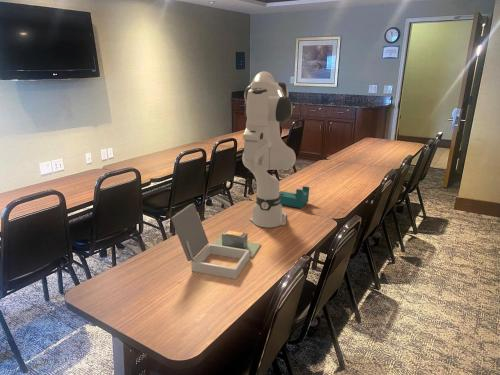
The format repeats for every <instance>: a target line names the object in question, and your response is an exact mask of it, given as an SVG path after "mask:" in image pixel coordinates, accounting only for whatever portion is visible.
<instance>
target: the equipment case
mask: <svg viewBox="0 0 500 375" xmlns="http://www.w3.org/2000/svg"><path fill="white" fill-rule="evenodd" d="M186 244H187V247H188V250H189V253H190V257H191V262H190V263H191V265H190V266H191V272H195V273H200V274H206V275H211V276H217V277H221V278H226V279H233V280H237V278H238V277H239V275H240V273H241V272H242V271H243V269H244V268H245V266H246V265H247V263H248V262H249V260H250V258H249V250H245V249H239V248H233V247H226V246H220V245H214V244H213V243H208V244H207V245H206V246H205V247H204V248H203V249H202V250H201V251H200V252H199V253H198V254H197V255H196V256H195V257H194V258H193V256H192V253H191V249H190V246H189V243H188V241H186ZM209 255H217V256H222V257H226V258H227V257H229V258H233V259H234V258H235V259H239V260H238V262H237V263H236V265H235V266H234V267H231V266H226V265H220V264H215V263H209V262H204V261H205V260H206V259H207V258H208V256H209Z"/></svg>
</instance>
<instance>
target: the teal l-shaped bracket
mask: <svg viewBox="0 0 500 375" xmlns="http://www.w3.org/2000/svg"><path fill="white" fill-rule="evenodd" d="M295 190H296V192H295V193H294V192H288V191H284V190H283V191H282V190H279V194H280V203H281V205H282V206H288V207H293V208H297V209H302V208H304V207H305V204H307V203H309V196H310V186H306V185H303V186H302V188H301V189H299V188H296V189H295Z"/></svg>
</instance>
